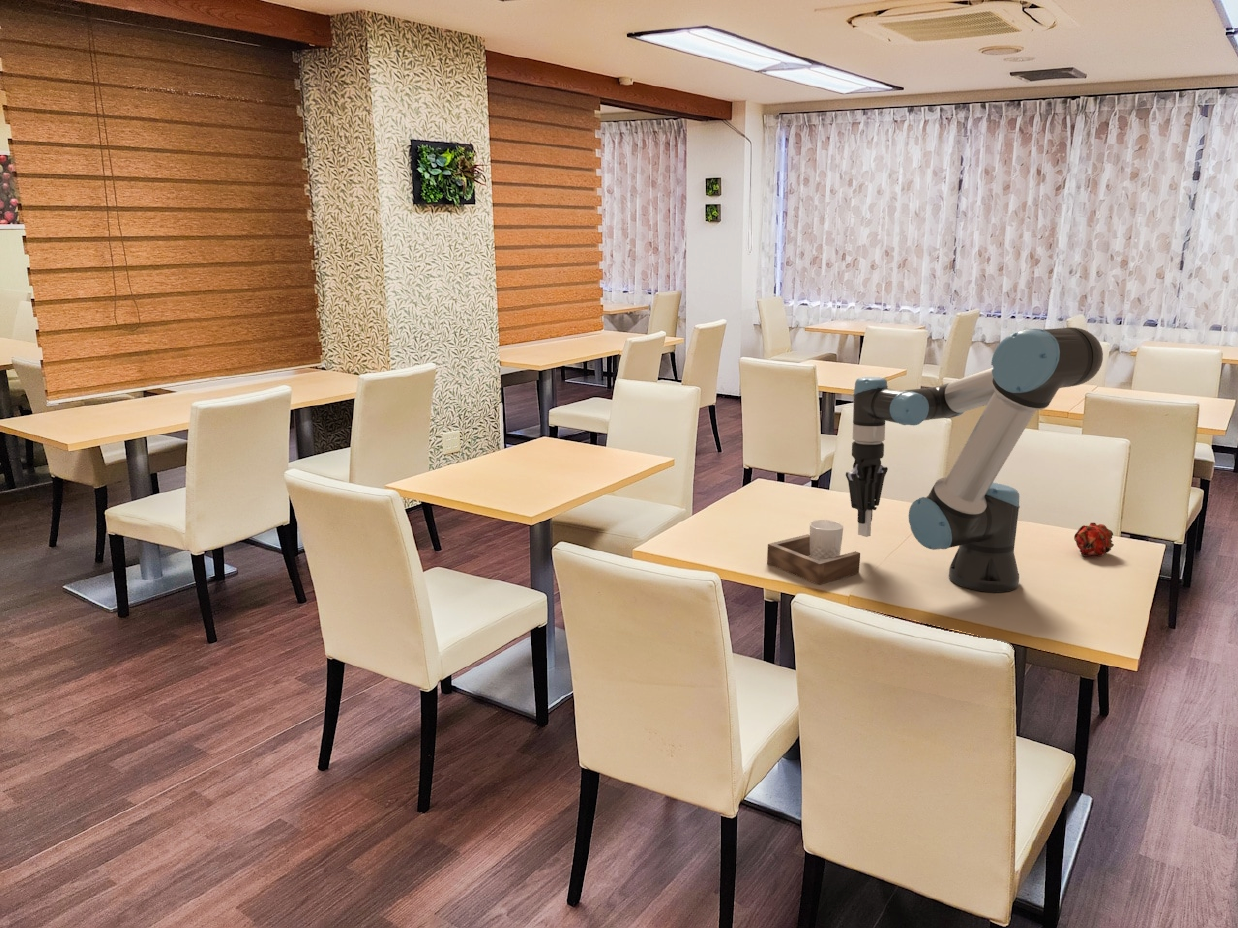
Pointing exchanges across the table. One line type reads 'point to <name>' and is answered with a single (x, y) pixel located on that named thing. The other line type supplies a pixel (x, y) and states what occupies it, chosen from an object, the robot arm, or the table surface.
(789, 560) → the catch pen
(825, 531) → the white cup
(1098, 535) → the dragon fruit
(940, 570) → the table surface
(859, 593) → the table surface
